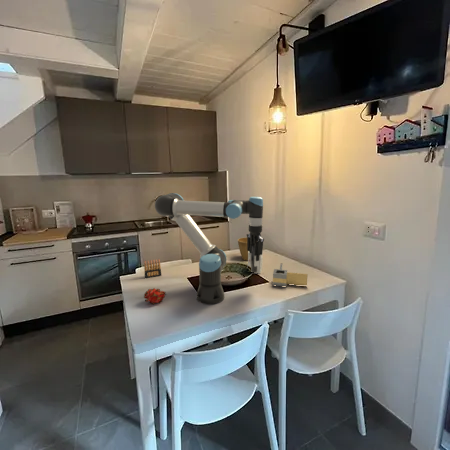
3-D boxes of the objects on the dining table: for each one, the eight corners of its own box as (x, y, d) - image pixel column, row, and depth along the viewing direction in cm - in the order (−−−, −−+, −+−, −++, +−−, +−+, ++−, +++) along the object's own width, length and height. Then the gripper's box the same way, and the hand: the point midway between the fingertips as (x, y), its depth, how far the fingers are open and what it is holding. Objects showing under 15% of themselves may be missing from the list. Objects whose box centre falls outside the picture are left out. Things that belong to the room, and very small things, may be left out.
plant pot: (247, 255, 222) (247, 236, 219) (260, 259, 211) (260, 239, 208) (233, 258, 213) (233, 239, 210) (246, 263, 202) (247, 243, 198)
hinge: (306, 289, 157) (307, 276, 156) (272, 286, 162) (273, 273, 161) (305, 276, 176) (306, 265, 175) (275, 274, 181) (275, 262, 180)
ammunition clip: (160, 274, 180) (160, 257, 178) (161, 275, 178) (160, 258, 176) (144, 277, 176) (143, 260, 173) (145, 278, 174) (143, 261, 172)
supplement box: (247, 272, 184) (247, 251, 181) (250, 268, 192) (250, 248, 189) (260, 274, 181) (260, 253, 178) (262, 269, 190) (263, 249, 187)
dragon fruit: (142, 306, 141) (165, 305, 146) (144, 303, 134) (168, 302, 139) (142, 290, 145) (165, 289, 149) (144, 286, 138) (167, 286, 142)
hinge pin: (256, 272, 152) (257, 247, 149) (250, 271, 153) (251, 246, 150) (257, 270, 155) (258, 245, 152) (251, 269, 156) (252, 244, 153)
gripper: (270, 226, 143) (268, 268, 148) (252, 221, 157) (251, 259, 162) (259, 228, 140) (257, 270, 144) (241, 222, 154) (240, 261, 158)
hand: (254, 264), depth 153 cm, fingers closed on hinge pin, 3 cm apart
